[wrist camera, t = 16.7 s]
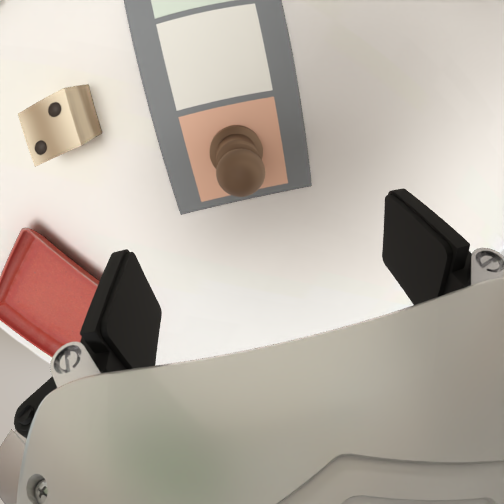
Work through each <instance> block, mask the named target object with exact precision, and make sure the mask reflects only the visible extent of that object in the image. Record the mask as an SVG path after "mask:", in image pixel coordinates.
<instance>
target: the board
mask: <svg viewBox="0 0 504 504" xmlns="http://www.w3.org/2000/svg"><path fill="white" fill-rule="evenodd" d="M124 4H125V9H126V14H127V18H128V23H129V28H130V32H131V37H132V41H133V46H134V50H135V54H136V59H137V63H138V67H139V71H140V75H141V79H142V83H143V87H144V91H145V95H146V99H147V102H148V106H149V110H150V114H151V117H152V121H153V124H154V128H155V132H156V135H157V139H158V142H159V146H160V149H161V152H162V156H163V159H164V163H165V166H166V169H167V173H168V176H169V179H170V182H171V186H172V189H173V192H174V195H175V198H176V201H177V205H178V208H179V211H180V214H181V215H182V214H186V213H190V212H194V211H198V210H202V209H206V208H211V207H215V206H219V205H223V204H228V203H232V202H237V201H241V200H246V199H250V198H255V197H260V196H264V195H269V194H274V193H279V192H284V191H288V190H293V189H299V188H304V187H309V186H312V184H311V175H310V167H309V158H308V150H307V143H306V135H305V128H304V121H303V114H302V108H301V101H300V95H299V89H298V83H297V77H296V71H295V65H294V60H293V54H292V49H291V44H290V39H289V34H288V29H287V24H286V19H285V15H284V10H283V6H282V1H281V0H124ZM232 125H241V126H245V127H247V128H249V129H251V130H252V131H254V132H255V133H256V135H257V136H258V138H259V139H260V141H261V143H262V147H263V156H262V162H263V164H264V167H265V179H264V182H263V184H262V185H261V187H260V188H259V189H258V190H257V191H256V192H255V193H253V194H251V195H249V196H245V197H236V196H232V195H230V194H228V193H226V192H225V191H224V190H223V189H222V188H221V187H220V185H219V183H218V181H217V177H216V168H215V167H214V166H213V164H212V162H211V159H210V145H211V142H212V139H213V137H214V136H215V135H216V134H217V133H218V132H219V131H220V130H221V129H223V128H225V127H228V126H232Z"/></svg>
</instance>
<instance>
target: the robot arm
mask: <svg viewBox="0 0 504 504" xmlns="http://www.w3.org/2000/svg"><path fill="white" fill-rule="evenodd" d="M469 247H470V244H469V243H468V242H467V241H466V240H465V239H464V238H463V237H462V236H461V235H460V234H459V233H457V232H456V231H455V230H454V229H453V228H452V227H451V226H450V225H448V224H447V223H446V222H445V221H444V220H443V219H441V218H440V217H439V216H438V215H437V214H435V213H434V212H433V211H432V210H431V209H429V208H428V207H427V206H426V205H425V204H423V203H422V202H421V201H420V200H418V199H417V198H416V197H415V196H413V195H412V194H411V193H409V192H408V191H407V190H406V189H398V190H392V191H390V192H389V194H388V195H387V196H386V197H385V215H384V237H383V252H382V257H383V261H384V263H385V265H386V266H387V268H388V269H389V270H390V272H391V273H392V275H393V276H394V277H395V279H396V280H397V281H398V283H399V284H400V286H401V287H402V288H403V290H404V291H405V293H406V294H407V296H408V297H409V298H410V300H411V301H412V303H413V304H414V305H413V306H410V307H407V308H404V309H401V310H398V311H395V312H392V313H389V314H386V315H382V316H379V317H376V318H373V319H369V320H366V321H362V322H359V323H355V324H352V325H348V326H345V327H341V328H338V329H334V330H330V331H326V332H323V333H319V334H315V335H311V336H307V337H303V338H299V339H295V340H291V341H286V342H282V343H278V344H273V345H269V346H264V347H259V348H255V349H250V350H245V351H240V352H235V353H230V354H225V355H219V356H214V357H208V358H202V359H196V360H190V361H184V362H178V363H171V364H164V365H157V366H155V361H156V352H157V344H158V337H159V329H160V322H161V314H162V313H161V308H160V305H159V303H158V301H157V299H156V297H155V295H154V293H153V291H152V289H151V287H150V285H149V283H148V281H147V279H146V277H145V275H144V273H143V271H142V268H141V266H140V264H139V262H138V260H137V258H136V256H135V254H134V253H133V252H129V251H128V250H127V249H126V250H122V251H118V252H114V253H112V255H111V257H110V259H109V261H108V263H107V266H106V268H105V270H104V273H103V275H102V277H101V280H100V282H99V284H98V287H97V289H96V292H95V294H94V297H93V299H92V302H91V304H90V307H89V309H88V312H87V315H86V317H85V320H84V323H83V325H82V328H81V331H80V335H81V336H82V338H81V341H80V342H70V343H67V344H65V345H63V346H62V347H61V348H59V349H58V350H57V351H56V353H55V354H54V356H53V357H52V360H51V363H50V370H51V373H52V377H51V378H50V379H49V380H48V381H47V382H46V383H45V384H43V385H42V386H41V387H40V388H39V389H38V390H37V391H36V392H35V393H33V394H32V395H31V396H30V397H29V398H28V399H27V400H26V401H24V402H23V403H22V404H21V405H20V406H19V408H18V409H17V411H16V414H15V419H14V425H15V429H16V430H15V432H14V431H13V430H12V429H11V431H10V432H9V434H8V435H7V437H6V438H5V440H4V441H3V443H2V444H1V446H0V498H1V499H2V501H3V502H4V503H5V504H504V256H503V255H501V254H500V253H499V252H497V251H495V250H492V249H489V248H478V249H476V250H474V252H473V253H472V254H471V253H470V252H469Z"/></svg>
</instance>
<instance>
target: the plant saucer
mask: <svg viewBox="0 0 504 504" xmlns="http://www.w3.org/2000/svg"><path fill="white" fill-rule="evenodd" d="M99 282H100V281H99V280H97V279H96V278H95V277H93V276H92V275H91V274H90V273H88V272H87V271H86V270H84V269H83V268H82V267H80V266H79V265H78V264H77V263H75V262H74V261H73V260H72V259H70V258H69V257H68V256H67V255H65V254H64V253H63V252H62V251H60V250H59V249H58V248H57V247H56V246H54V245H53V244H52V243H51V242H50V241H49V240H47V239H46V238H45V237H44V236H42V235H41V234H39V233H38V232H36V231H34V230H32V229H29V228H22V229H21V231H20V233H19V235H18V237H17V239H16V241H15V243H14V246H13V248H12V250H11V252H10V255H9V257H8V259H7V262H6V264H5V266H4V269H3V271H2V273H1V276H0V320H1V321H2V322H3V323H5V324H6V325H7V326H9V327H10V328H11V329H12V330H14V331H15V332H16V333H18V334H19V335H20V336H22V337H23V338H24V339H26V340H27V341H29V342H30V343H32V344H33V345H34V346H36V347H37V348H39V349H40V350H42V351H43V352H45V353H46V354H48V355H49V356H51V357H53V356H54V354H55V353H56V351H57V350H58V349H59V348H61V347H62V346H63V345H65V344H67V343H70V342H80V341H81V338H82V336H81V335H80V331H81V328H82V325H83V323H84V320H85V317H86V315H87V312H88V309H89V307H90V304H91V302H92V299H93V297H94V294H95V292H96V289H97V287H98V284H99Z"/></svg>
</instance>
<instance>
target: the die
mask: <svg viewBox="0 0 504 504" xmlns="http://www.w3.org/2000/svg"><path fill="white" fill-rule="evenodd" d="M18 116H19V120H20V123H21V126H22V130H23V133H24V136H25V139H26V142H27V145H28V148H29V151H30V154H31V157H32V160H33V163H34V165H35V167H36V166H38V165H40V164H42V163H44V162H46V161H48V160H50V159H52V158H55V157H57V156H59V155H61V154H63V153H66V152H68V151H70V150H73V149H75V148H77V147H80V146H82V145H83V144H85V143H87V142H88V141H90V140H91V139H93V138H95V137H96V136H98V135H100V134H101V133H102V131H101V128H100V124H99V121H98V118H97V114H96V111H95V107H94V104H93V100H92V96H91V93H90V89H89V85H88V84H87V85H80V86H74V87H68V88H63V89H61V90H60V91H58V92H56V93H54V94H52V95H50V96H48V97H46V98H44V99H43V100H41V101H39V102H37V103H35V104H34V105H32V106H30V107H29V108H27V109H25V110H24V111H22V112H20V113H19V114H18Z"/></svg>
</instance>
